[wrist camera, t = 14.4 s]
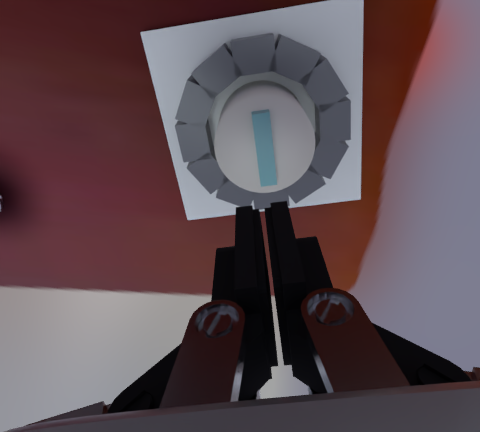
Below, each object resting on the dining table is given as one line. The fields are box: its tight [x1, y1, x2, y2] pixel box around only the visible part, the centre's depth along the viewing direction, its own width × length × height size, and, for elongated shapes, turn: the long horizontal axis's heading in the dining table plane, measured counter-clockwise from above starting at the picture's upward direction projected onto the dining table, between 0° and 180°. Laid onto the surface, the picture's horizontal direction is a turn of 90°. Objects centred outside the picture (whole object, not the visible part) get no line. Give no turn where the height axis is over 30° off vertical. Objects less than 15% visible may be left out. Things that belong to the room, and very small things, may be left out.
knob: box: [214, 80, 315, 193], centre depth 24 cm, size 6×6×6 cm
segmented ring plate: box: [140, 0, 364, 220], centre depth 26 cm, size 14×14×3 cm
